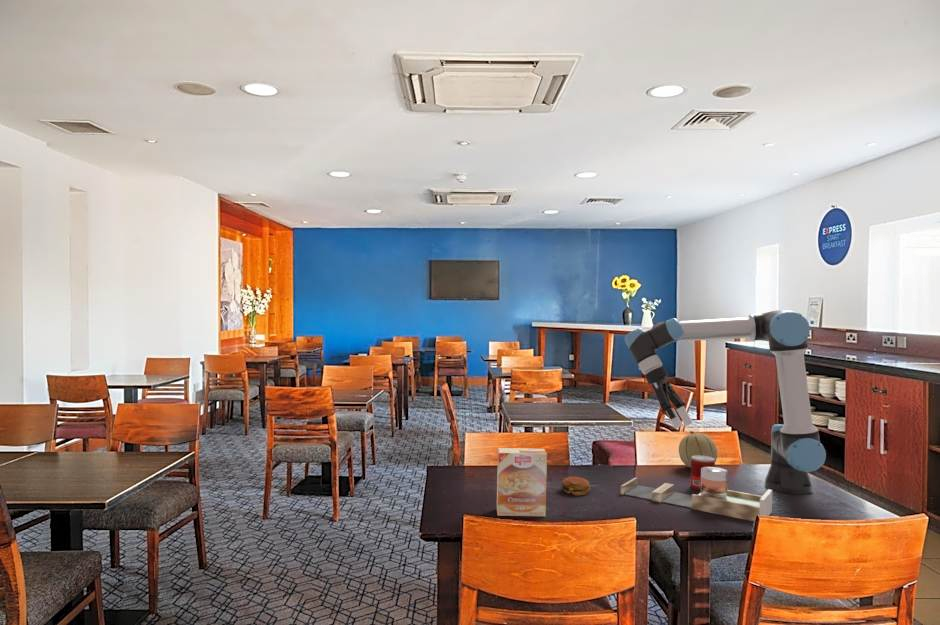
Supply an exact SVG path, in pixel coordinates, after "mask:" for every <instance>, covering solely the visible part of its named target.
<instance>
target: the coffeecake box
mask: <svg viewBox="0 0 940 625" xmlns="http://www.w3.org/2000/svg"><path fill="white" fill-rule="evenodd" d="M547 464H548V453H547V451H546V449H545V448H527V447H526V448H524V447H523V448H522V447H520V448H519V447H517V448H514V447H498V448H497V468H496V469H497V472H496V474H497V475H496V477H497V478H496V514H497V516H498V517H500V516H501V517H502V516H503V517H507V516H509V517H546V515H547V514H546V513H547V475H548V474H547V470H548V465H547Z"/></svg>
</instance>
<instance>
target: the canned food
mask: <svg viewBox="0 0 940 625" xmlns="http://www.w3.org/2000/svg"><path fill="white" fill-rule="evenodd" d="M702 467H716V462H715V459H714V458H712V457H709V456H702V455H695V456H692V457H691V468H690V487H691V488H692V489H693V490H696V491H700V492H701V468H702Z"/></svg>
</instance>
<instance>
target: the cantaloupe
mask: <svg viewBox="0 0 940 625" xmlns="http://www.w3.org/2000/svg"><path fill="white" fill-rule="evenodd" d="M678 454H679V458H680V460H681V463H683V464H684V465H685V466H686V467H688V468H690V469H691V457H692V456H695V455H702V456H709V457H712V458H714V459H715V463H716V462H717V460H718V455H719V454H718V448H717V446H716V444H715V442H714V440H713V439H712V438H711V437H709V436H708V434H705V433H701V432H694V431H692V430H690V431H689V434H687V435H685V436H684V437H683V438H682V439H681V440H680V442H679V445H678Z"/></svg>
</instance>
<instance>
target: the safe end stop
mask: <svg viewBox="0 0 940 625" xmlns="http://www.w3.org/2000/svg"><path fill="white" fill-rule="evenodd" d="M761 496H762V497H761V499H760V501H756V500H751V499H745V498H740V497H734V496H730V497H729V498H728V499H727V500H728V501H733V502H738V503H744V504H749V505H754V506H760V511H759V515H768V516H770V515H771V514H772V512H773V490H771V489H769V488H767V490H766V491H765V493H764V494H763V495H761Z"/></svg>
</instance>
